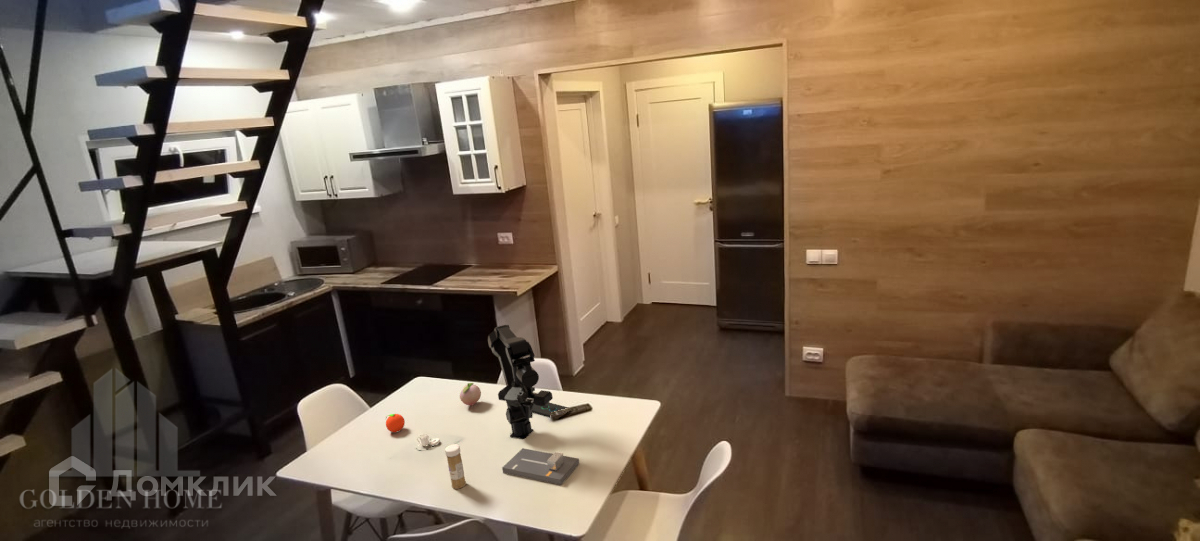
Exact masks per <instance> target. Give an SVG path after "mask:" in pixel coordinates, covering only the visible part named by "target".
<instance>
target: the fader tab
mask: <svg viewBox="0 0 1200 541" xmlns="http://www.w3.org/2000/svg"><path fill="white" fill-rule="evenodd" d="M552 454H553V455H552V456H551V457H550V458H549V459H548V460H547V464H548V469H552V470H557V469H558V468H559V467H560V466H561V465H562V464H563V463H564V457H563V456H564V453H561V452H556V451H555V452H553V453H552Z"/></svg>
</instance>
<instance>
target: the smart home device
mask: <svg viewBox="0 0 1200 541" xmlns="http://www.w3.org/2000/svg"><path fill="white" fill-rule="evenodd" d="M565 408H570V407H567V406H564V405H560V404H556V403H553V402H550V401H549V402H548V403H547V404H546V405H545V406H539V405H535V404H534V406H533V410H532V414H535V415H539V416H543V417H546V418H549V419H551V418H550V413H551V412H554V411H558V410H561V409H565Z"/></svg>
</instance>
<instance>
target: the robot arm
mask: <svg viewBox="0 0 1200 541" xmlns="http://www.w3.org/2000/svg"><path fill="white" fill-rule="evenodd" d="M487 343H488V347H489V349H490V350H491V352H492V354H493V355H494V356H495V357H497V358H498V361H499V364H500V367H501V368H500V369H501V371H502V376H503V378H504V383H505V387H503V388H502V389H500V390H499V392H498V394H497V397H498V401H504V402H505V403H506V406H507V408H506V411H505V416H506V420H507V421H508V423H509V425H510V426H511V434H510V435H509V436H510V437H509V438H513V439H520V440H525V439H527V437H529V436H530V435H531V434H532V433H533V432H534V429H533V428H532V424H531V423H532V422H531V420H530V419H532V418H533V416H534V415H533V414H534V413H532V410H533V406H534V404H535V405H539V406H545V405H546V404H547V403H548V402H549V403H550V401H552V400H553V393H552V392H551V391H550V390H540V391H538V392H535V391H536V388H535V386H536V385H537V383H538V382H539V380H540V379H539V378H540V377H539V374H538V372H537V370H535V369H534V367H532V364H531V363H532V362H535V353H534V350H533V347H532V345H531V344H530V342H529V341H528V340H527V339H526V338H524V337H519V336H517V335H516V334H515V333H514V332H513V331H512V330H511V328H510V325H509V324H502V325H499V326H498V325H497V326H496V327H494V329H493V331H492V332H490V333H489V334H488V336H487Z"/></svg>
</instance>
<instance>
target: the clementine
mask: <svg viewBox="0 0 1200 541" xmlns="http://www.w3.org/2000/svg"><path fill="white" fill-rule="evenodd" d="M385 420H386V422H385V426H386V428H387V430H388V431H389V432H391V433H398V432H400V431H401V430H403V429H404V426H405V423H406V422H405V418H404V417H403V415H402V414H399V413H391V414H388V415H387V416H385ZM397 431H398V432H397Z"/></svg>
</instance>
